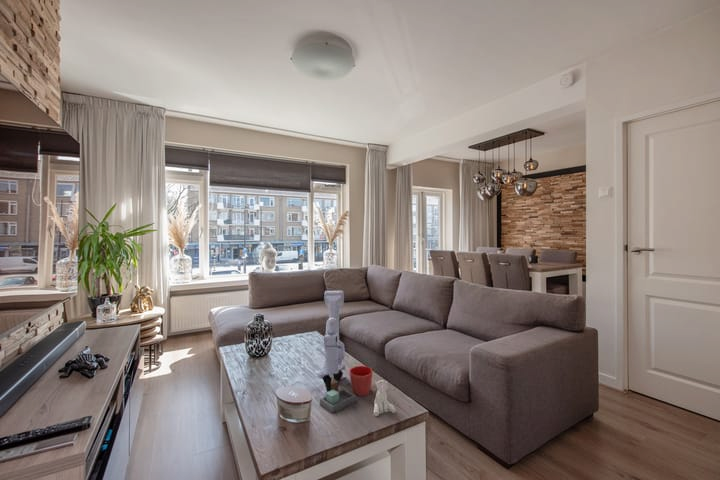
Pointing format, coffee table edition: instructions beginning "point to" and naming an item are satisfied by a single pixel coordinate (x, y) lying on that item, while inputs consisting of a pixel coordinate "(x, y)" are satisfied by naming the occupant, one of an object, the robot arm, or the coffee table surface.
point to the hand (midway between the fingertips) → (332, 389)
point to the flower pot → (361, 379)
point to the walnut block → (334, 385)
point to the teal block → (332, 397)
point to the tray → (344, 400)
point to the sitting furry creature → (382, 399)
